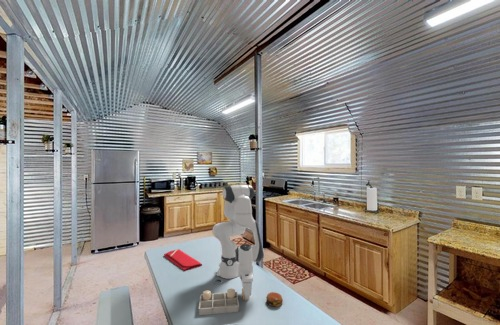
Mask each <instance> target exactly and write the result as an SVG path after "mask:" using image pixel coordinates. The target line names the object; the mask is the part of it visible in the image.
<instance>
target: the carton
mask: <svg viewBox="0 0 500 325" xmlns="http://www.w3.org/2000/svg"><path fill="white" fill-rule="evenodd" d="M199 296H200V297H199V304H198V316H204V315H213V314H215V315H216V314H227V313H236V312H237V313H239V312H240V302H239V301H240V300H239V297H238V291H235V298H234V299H227V292H215V293H211V300H209V301H203V293H202V294H201V293H200V295H199Z"/></svg>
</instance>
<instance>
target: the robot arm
mask: <svg viewBox="0 0 500 325" xmlns="http://www.w3.org/2000/svg"><path fill="white" fill-rule="evenodd" d="M254 196H255V189H254V186H253V185H250V184H233V185H226V186H224V187H223V189H222V198H223V200H224V206H223V214H224V216H225V218H227V220H228V219H229V221H223V222H219V223H216V224H214V225H213V227H212V235H213V236H214V237H215V238H216V239H217V240H218V241H219V242H220V245H221V257H220V259H221V261H220V262H219V263H218V267H219V268H218V270H217V272H216V276H218V277H220V278H223V279H235V278H237V277H239V279H240V281H241V285H242V288H243V291H244V295H245V299H248V296H250V297H251V295H252V289H253V288H252V287H253V286H252V285H253V282H254V266H253V262H255V263H260V262H261V261H262V260H264V258H265V251H264V248H263V244H262V239H261V233H260V230H259V224H258V222H257V220H255V219H254V217H253V208H252V199H253V197H254ZM246 229H248V230H249V231H251V232H252V234H253V239H254V245H250V244H248V243H243V244H240V245H239V246H238V245H237V243H236V242H235V241H234V240H231V237H236V236H237V237H238V236H241V235H243V234H245V232H246Z"/></svg>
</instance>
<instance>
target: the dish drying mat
mask: <svg viewBox="0 0 500 325" xmlns="http://www.w3.org/2000/svg"><path fill="white" fill-rule="evenodd" d="M163 257H165V258H166V259H167V260H168V261H169V262H171V263H172V264H174V265H175V266H176V267H177V268H179V269H181V270H182V271H183V272H186V271H187V272H188V271H190V270H193V269H197V268H199V267H203V264H202V262H200V261H198V260H196V259H195V258H194V257H192V256H191V255H189V254H187V253H186V252H184V251H182V250H181V249H180V248H179V249H174V250H170V251H168V252H166V253H164V254H163Z"/></svg>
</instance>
